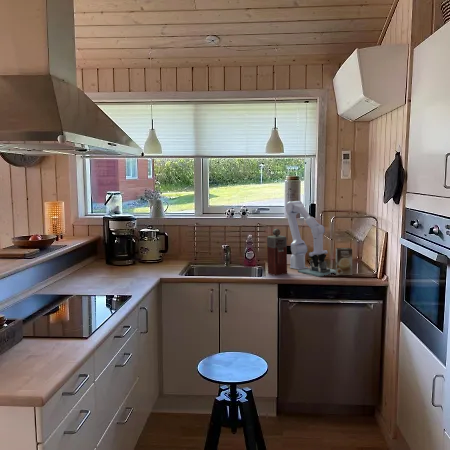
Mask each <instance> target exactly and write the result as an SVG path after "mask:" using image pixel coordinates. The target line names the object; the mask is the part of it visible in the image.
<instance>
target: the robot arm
mask: <svg viewBox="0 0 450 450" xmlns="http://www.w3.org/2000/svg"><path fill="white" fill-rule="evenodd" d="M284 207H285V211H286V217H287V221H288V226H289V230H290V233H291V234H290V235H291V237H292V242H291V243H290V251H291V256H290V259H289V260H290V261H289V262H290V263H289V265H290V266H289V268H290V269H295V270H303V269H308V268H309V267H308V266H306V253H308V257H310V258H311V260H313V263H314V267H318V260H320V261H325V259H326V257H327V254H328V253H329V252H328V250H325V249H324V234H325V233H326V232H325V231H326V229H325V226H324V225H323V224H320V223H319V222H318V221H317V220H316V218H315V217H313V216H311V215H310V214H309V213H308V211H307V210H306V208H305V205H304V203H303V202H302V201H301V200H294V201H287V203H286V204H285V206H284ZM298 214H300V216H301V217H302V218H303V219H304V220H305V223H306V225H307V226H308V227H309V229H310V232H311V235H312V238H313V251H312V252H311V251H310V252H308V246H307V244H306V242H305V240H303V239H302V236H301V232H300V228H299V224H298V220H297V215H298Z"/></svg>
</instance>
